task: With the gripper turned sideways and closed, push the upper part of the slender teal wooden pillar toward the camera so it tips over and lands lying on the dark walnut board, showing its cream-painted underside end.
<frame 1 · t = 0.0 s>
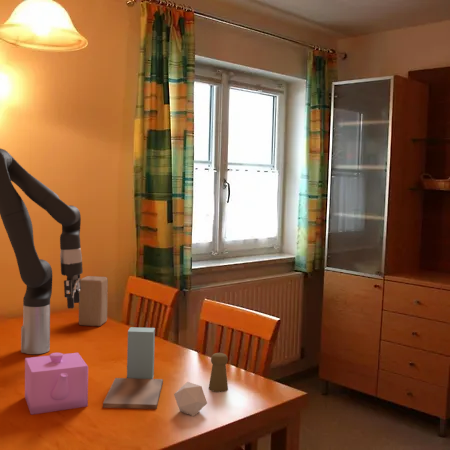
hand: (73, 305, 205), 17 cm above the table, tool pointing down, fingers open, 8 cm apart
teapot: (56, 404, 160), on the table
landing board: (134, 394, 168), on the table
die: (190, 412, 157), on the table
block: (92, 323, 246), on the table
cork: (218, 389, 175), on the table
pillar: (140, 378, 182), on the table
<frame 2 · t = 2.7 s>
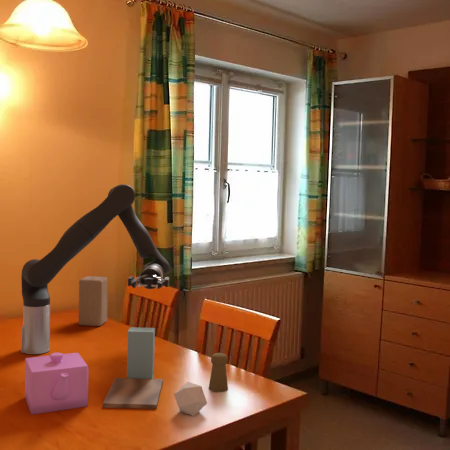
hand: (146, 285, 190), 28 cm above the table, tool horizontal, fingers open, 8 cm apart
nothing on the table moved.
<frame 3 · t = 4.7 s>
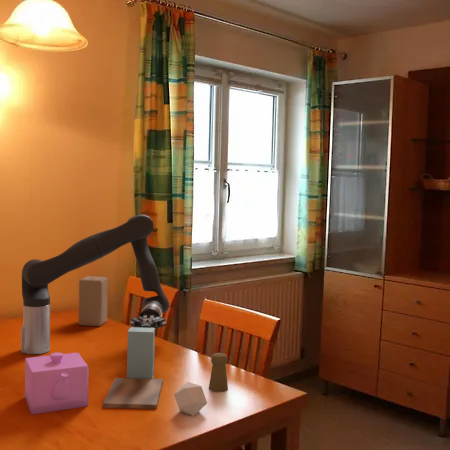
hand: (145, 328, 189), 14 cm above the table, tool horizontal, fingers closed
nothing on the table moved.
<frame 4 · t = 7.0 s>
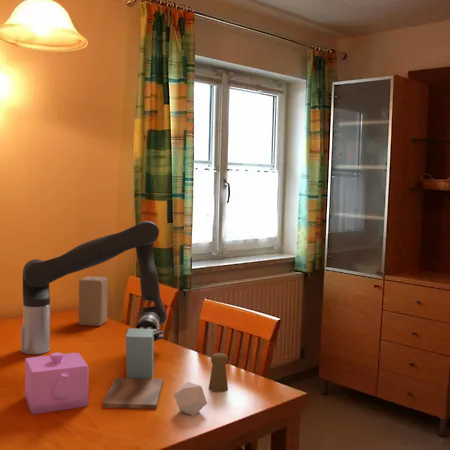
hand: (141, 341, 180), 12 cm above the table, tool horizontal, fingers closed
pillar: (140, 376, 182), point 1 cm above the table, tilted 14°
everything else where it was.
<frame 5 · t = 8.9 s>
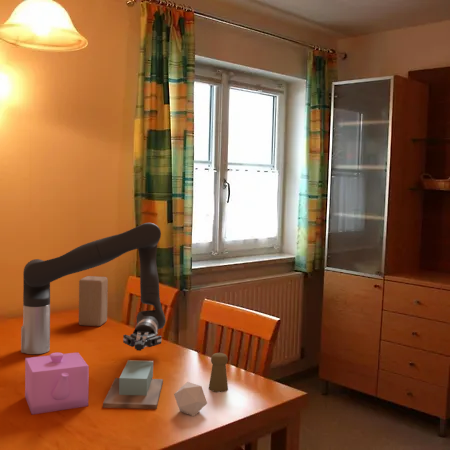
hand: (138, 347, 175), 12 cm above the table, tool horizontal, fingers closed
pillar: (140, 368, 180), point 4 cm above the table, tilted 90°, touching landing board
everything else where it was.
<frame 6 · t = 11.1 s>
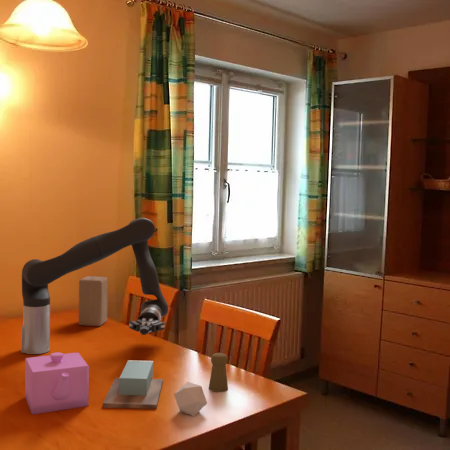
hand: (143, 331, 189), 13 cm above the table, tool horizontal, fingers closed
nothing on the table moved.
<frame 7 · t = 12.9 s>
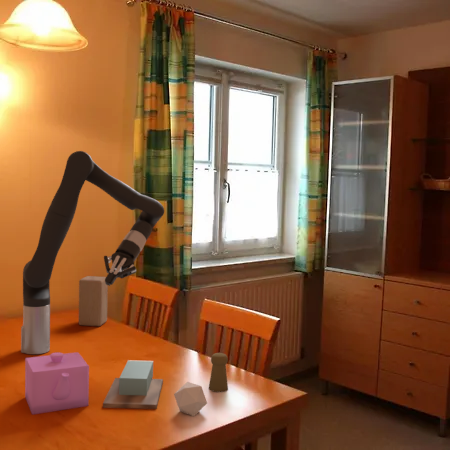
hand: (107, 283, 191), 28 cm above the table, tool tilted 45°, fingers closed
nothing on the table moved.
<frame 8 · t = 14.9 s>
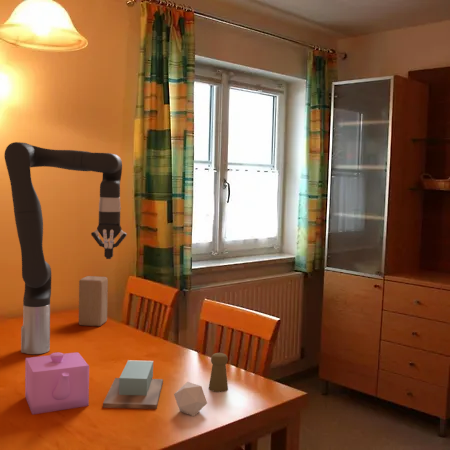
hand: (108, 258, 201), 35 cm above the table, tool pointing down, fingers closed
nothing on the table moved.
at the end: pillar tilted 90°; pillar touching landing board; pillar inside the target area (1.9 cm from its centre), point 3.7 cm above the table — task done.
